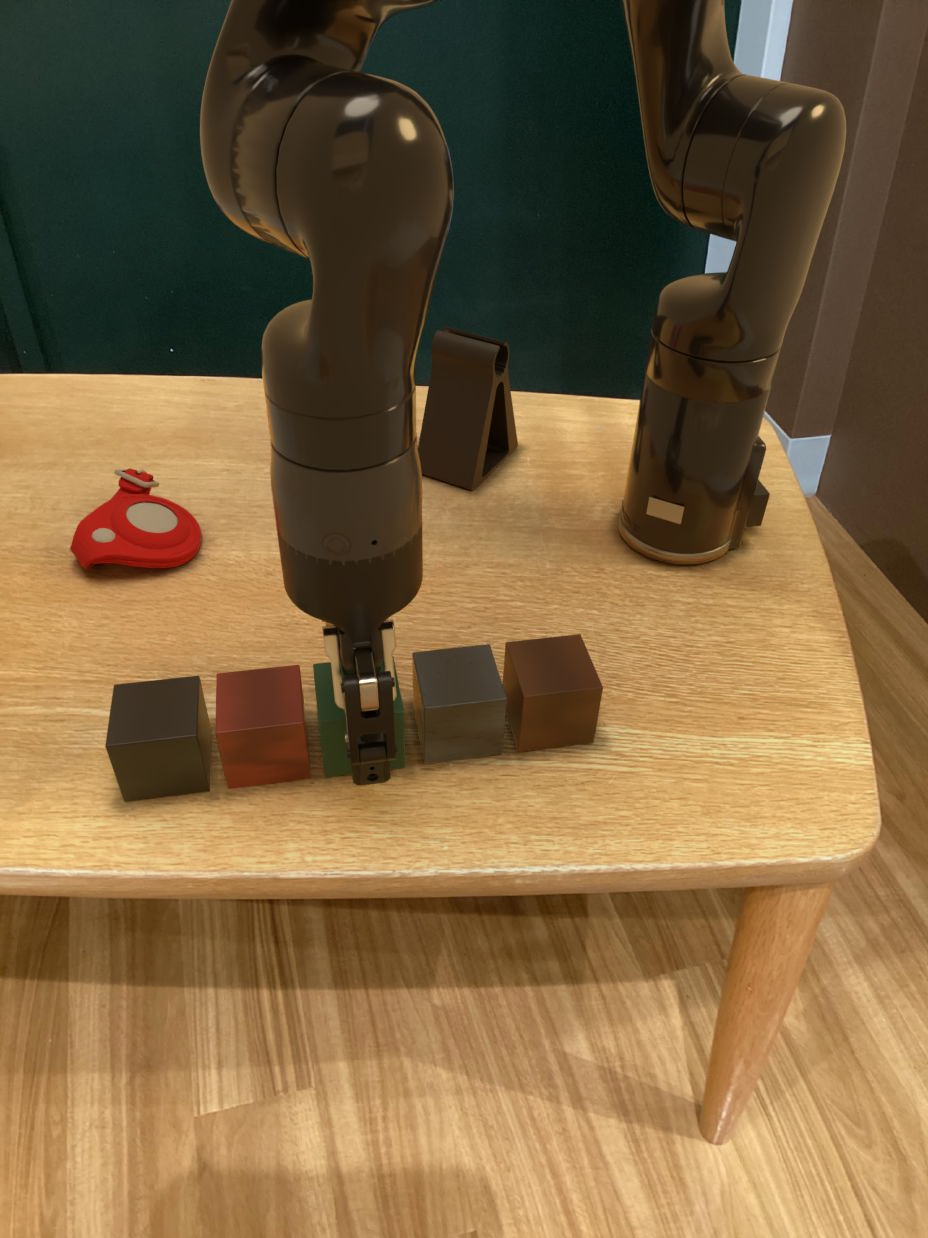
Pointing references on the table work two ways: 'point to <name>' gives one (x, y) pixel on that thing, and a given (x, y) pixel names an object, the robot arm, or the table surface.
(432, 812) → the table surface
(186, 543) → the tracker holder
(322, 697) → the green block
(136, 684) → the block line
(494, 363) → the phone stand
